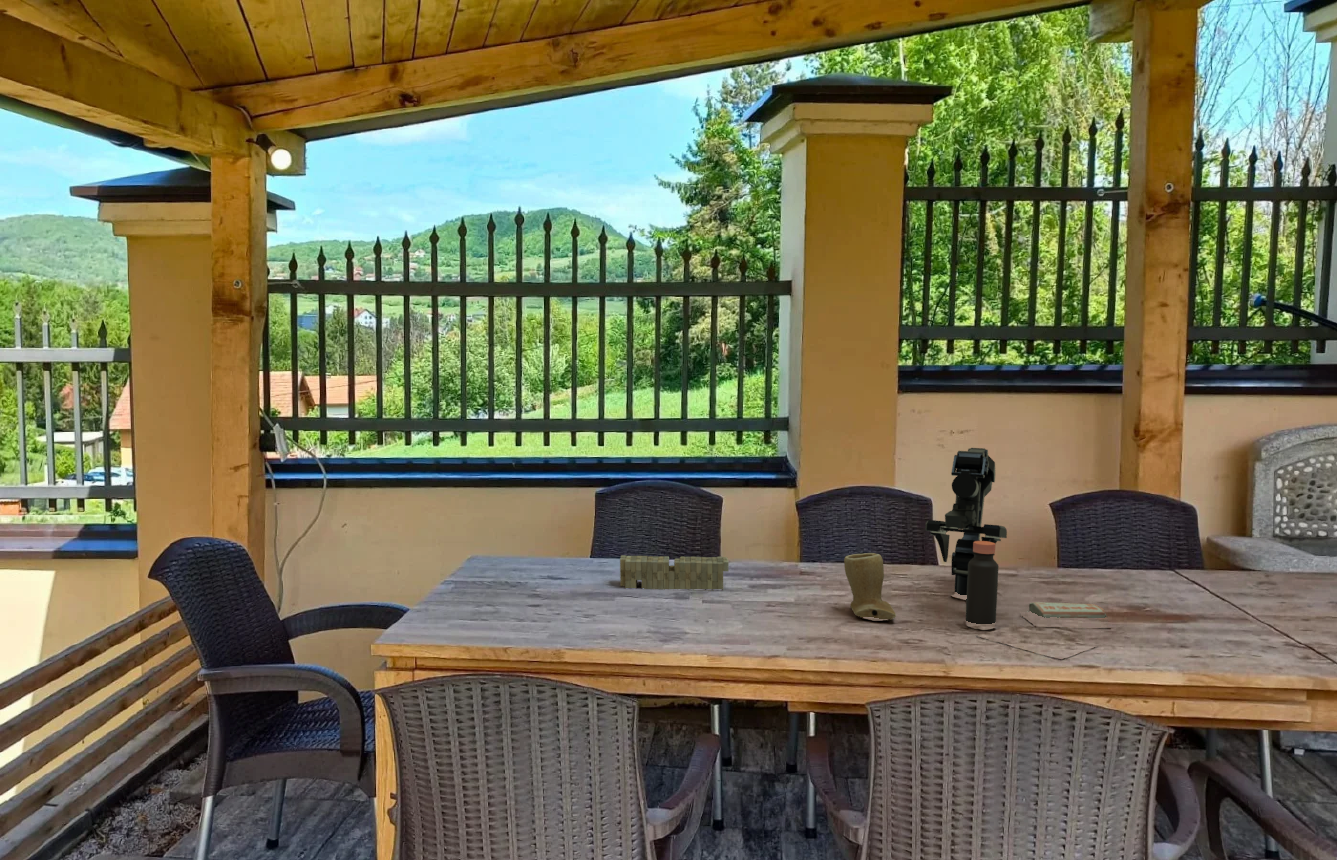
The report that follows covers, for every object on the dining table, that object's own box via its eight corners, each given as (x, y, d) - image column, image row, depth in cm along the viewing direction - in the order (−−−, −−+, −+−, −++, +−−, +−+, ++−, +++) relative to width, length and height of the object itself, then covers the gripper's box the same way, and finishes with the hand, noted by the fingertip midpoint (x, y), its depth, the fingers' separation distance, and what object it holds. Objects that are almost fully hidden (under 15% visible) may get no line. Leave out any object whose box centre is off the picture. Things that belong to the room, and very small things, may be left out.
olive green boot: (840, 605, 231) (842, 547, 229) (888, 608, 229) (891, 549, 228) (845, 622, 216) (847, 559, 214) (896, 625, 214) (899, 562, 213)
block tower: (619, 592, 243) (729, 591, 242) (619, 561, 242) (729, 560, 242) (621, 585, 251) (727, 584, 250) (621, 555, 250) (727, 554, 250)
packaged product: (1093, 600, 224) (1113, 611, 214) (1092, 619, 225) (1111, 631, 215) (1020, 598, 224) (1036, 609, 214) (1019, 617, 225) (1035, 629, 215)
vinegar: (997, 632, 210) (1001, 546, 209) (966, 629, 211) (971, 544, 210) (993, 624, 217) (997, 541, 215) (963, 621, 218) (967, 539, 217)
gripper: (918, 495, 227) (913, 558, 225) (993, 500, 215) (989, 566, 213) (936, 500, 235) (932, 560, 234) (1009, 504, 224) (1005, 568, 222)
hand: (963, 564), depth 225 cm, fingers open, 9 cm apart
